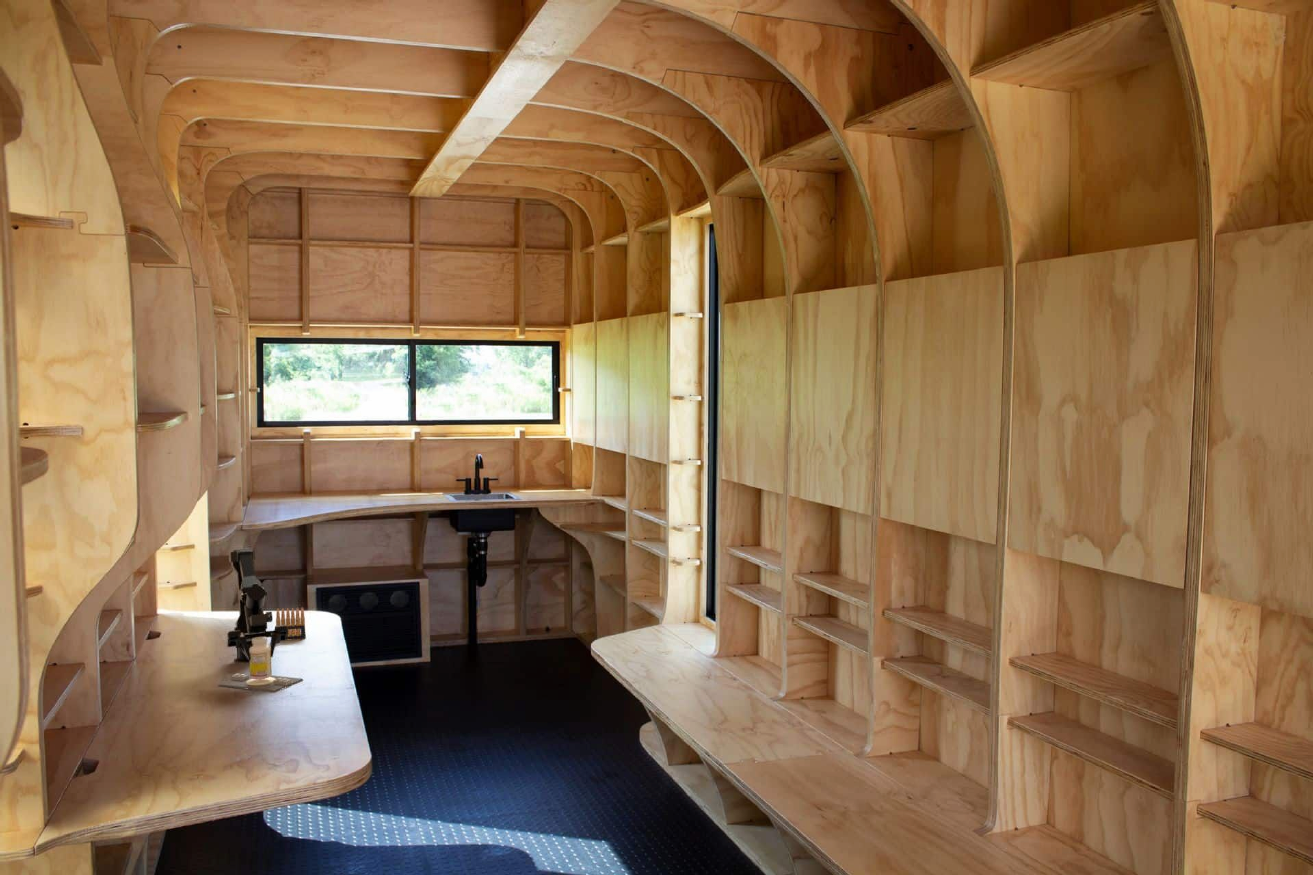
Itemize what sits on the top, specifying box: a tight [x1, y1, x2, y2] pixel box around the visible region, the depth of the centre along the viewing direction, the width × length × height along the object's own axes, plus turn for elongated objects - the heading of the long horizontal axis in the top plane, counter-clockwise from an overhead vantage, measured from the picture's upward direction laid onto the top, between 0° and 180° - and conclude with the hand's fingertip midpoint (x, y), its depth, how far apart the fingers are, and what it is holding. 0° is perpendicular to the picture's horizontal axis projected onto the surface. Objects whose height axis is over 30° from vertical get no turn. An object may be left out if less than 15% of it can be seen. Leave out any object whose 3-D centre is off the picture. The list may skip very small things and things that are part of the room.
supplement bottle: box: [249, 637, 273, 679], centre depth 360 cm, size 7×7×13 cm
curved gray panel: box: [218, 672, 304, 693], centre depth 361 cm, size 22×14×2 cm, turn 70°
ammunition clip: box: [275, 606, 307, 640], centre depth 420 cm, size 11×2×12 cm, turn 105°
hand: (260, 657), depth 359 cm, fingers closed on supplement bottle, 7 cm apart
